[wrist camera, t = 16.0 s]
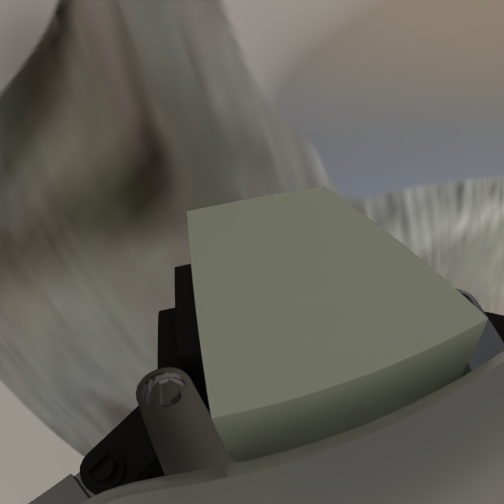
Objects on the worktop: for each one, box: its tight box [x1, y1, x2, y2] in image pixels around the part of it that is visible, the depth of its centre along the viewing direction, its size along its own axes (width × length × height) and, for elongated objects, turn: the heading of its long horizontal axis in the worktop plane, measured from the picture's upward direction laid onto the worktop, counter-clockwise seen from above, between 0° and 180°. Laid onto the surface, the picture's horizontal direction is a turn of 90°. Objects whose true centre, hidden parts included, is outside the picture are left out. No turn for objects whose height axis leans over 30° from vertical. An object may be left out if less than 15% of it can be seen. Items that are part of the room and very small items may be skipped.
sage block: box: [187, 186, 488, 462], centre depth 9 cm, size 5×5×8 cm
